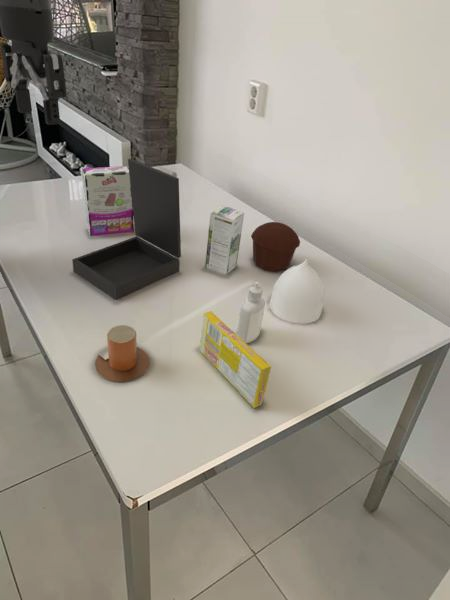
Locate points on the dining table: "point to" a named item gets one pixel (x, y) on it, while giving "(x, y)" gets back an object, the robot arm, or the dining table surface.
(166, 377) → the dining table surface
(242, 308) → the eye dropper bottle
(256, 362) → the candy box
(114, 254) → the open lid tray box
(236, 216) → the syrup box
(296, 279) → the teardrop
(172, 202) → the box lid
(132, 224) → the candy bar box
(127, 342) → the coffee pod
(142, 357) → the coaster
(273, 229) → the muffin
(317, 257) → the dining table surface
